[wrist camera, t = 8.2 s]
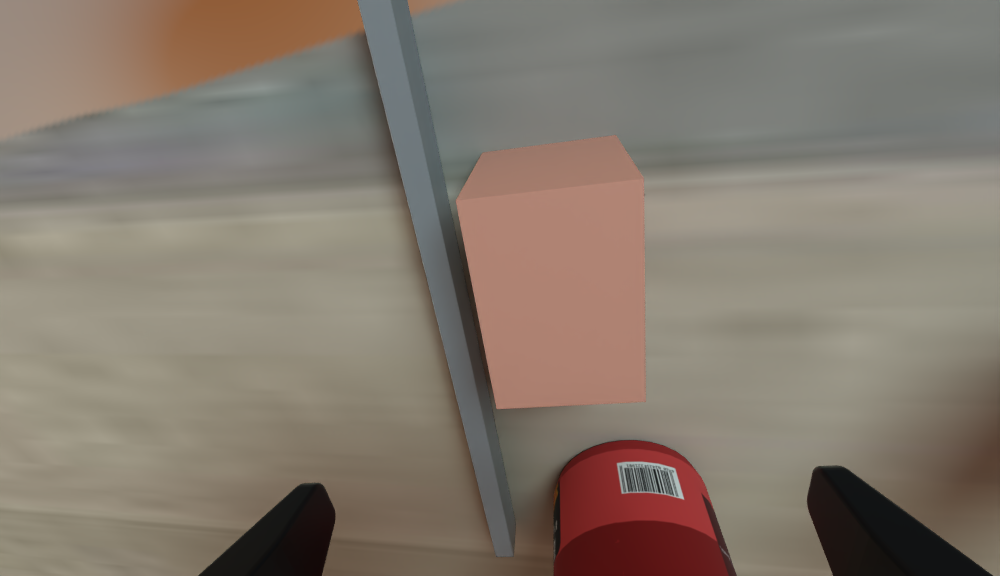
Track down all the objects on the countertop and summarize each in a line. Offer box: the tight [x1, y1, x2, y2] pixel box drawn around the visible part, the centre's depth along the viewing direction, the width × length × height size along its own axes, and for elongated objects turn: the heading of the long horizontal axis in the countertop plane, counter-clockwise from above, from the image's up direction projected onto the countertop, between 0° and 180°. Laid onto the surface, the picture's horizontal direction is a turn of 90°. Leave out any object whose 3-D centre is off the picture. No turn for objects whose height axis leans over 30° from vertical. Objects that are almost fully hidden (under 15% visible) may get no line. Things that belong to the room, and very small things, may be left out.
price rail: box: [357, 0, 516, 557], centre depth 20 cm, size 1×32×2 cm, turn 9°
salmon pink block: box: [456, 135, 646, 409], centre depth 17 cm, size 5×8×6 cm
